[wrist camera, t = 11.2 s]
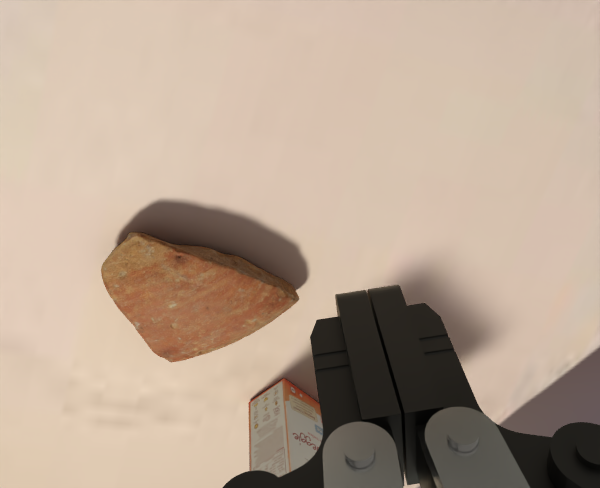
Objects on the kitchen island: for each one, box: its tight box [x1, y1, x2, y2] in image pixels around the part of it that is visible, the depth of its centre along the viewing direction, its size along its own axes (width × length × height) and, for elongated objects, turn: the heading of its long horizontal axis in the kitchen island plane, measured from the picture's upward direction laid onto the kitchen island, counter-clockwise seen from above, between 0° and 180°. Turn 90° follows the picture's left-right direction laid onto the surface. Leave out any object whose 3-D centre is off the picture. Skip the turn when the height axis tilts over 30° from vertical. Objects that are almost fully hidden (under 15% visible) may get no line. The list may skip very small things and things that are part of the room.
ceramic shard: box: [101, 232, 299, 362], centre depth 52 cm, size 15×6×15 cm
